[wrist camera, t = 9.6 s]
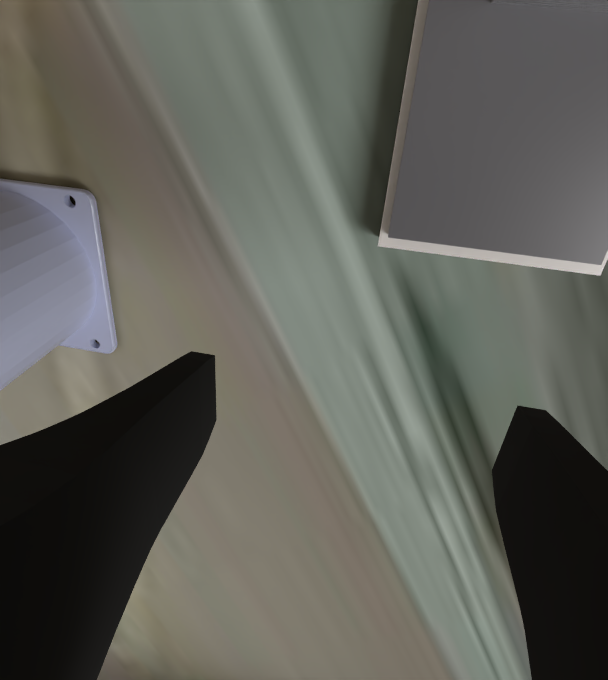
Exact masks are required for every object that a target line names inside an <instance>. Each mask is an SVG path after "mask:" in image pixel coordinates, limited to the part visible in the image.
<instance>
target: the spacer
mask: <svg viewBox="0 0 608 680" xmlns="http://www.w3.org/2000/svg"><path fill="white" fill-rule="evenodd" d="M491 3H498V4H510V5H523V6H535V7H548V8H560V9H573V10H585V11H598V12H608V0H491Z"/></svg>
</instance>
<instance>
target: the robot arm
mask: <svg viewBox="0 0 608 680" xmlns="http://www.w3.org/2000/svg"><path fill="white" fill-rule="evenodd" d="M70 196H72V197H73V198H74V199H75V202H76V205H73V204H72V202H71V201H70ZM95 340H97V341H98V342H99V344H98V343H96V342H95ZM58 345H59V346H65V347H71V348H77V349H83V350H89V351H95V352H100V353H112V352H113V351H114V350H115V349H116V348H117V338H116V331H115V324H114V317H113V311H112V304H111V297H110V290H109V284H108V277H107V270H106V263H105V257H104V250H103V243H102V236H101V229H100V223H99V216H98V209H97V202H96V199H95V197H94V196H93V194H92V193H91V192H89V191H88V190H85V189H79V188H71V187H63V186H56V185H48V184H40V183H32V182H24V181H16V180H9V179H1V178H0V390H2V389H3V388H4V387H6V386H7V385H8V384H9V383H11V382H12V381H13V380H14V379H16V378H17V377H18V376H20V375H21V374H22V373H23V372H25V371H26V370H27V369H29V368H30V367H31V366H32V365H34V364H35V363H36V362H37V361H39V360H40V359H41V358H43V357H44V356H45V355H46V354H48V353H49V352H50V351H52V350H53V349H54V348H55V347H57V346H58ZM215 422H216V384H215V355H210V354H204V353H198V352H192V351H191V352H189V353H187V354H186V355H184V356H182V357H180V358H179V359H177V360H175V361H173V362H172V363H170V364H168V365H167V366H165V367H163V368H162V369H160V370H158V371H157V372H155V373H153V374H152V375H150V376H148V377H147V378H145V379H143V380H141V381H140V382H138V383H136V384H135V385H133V386H131V387H129V388H128V389H126V390H124V391H122V392H120V393H118V394H116V395H115V396H113V397H111V398H109V399H107V400H105V401H103V402H101V403H99V404H97V405H96V406H94V407H92V408H90V409H88V410H86V411H84V412H82V413H80V414H78V415H75V416H73V417H71V418H69V419H67V420H64V421H62V422H60V423H57V424H55V425H53V426H50V427H48V428H46V429H43V430H41V431H38V432H36V433H33V434H31V435H28V436H25V437H22V438H19V439H17V440H14V441H11V442H8V443H5V444H2V445H0V680H97V678H98V675H99V672H100V670H101V667H102V665H103V662H104V660H105V657H106V655H107V652H108V649H109V647H110V644H111V642H112V639H113V637H114V634H115V632H116V629H117V627H118V624H119V622H120V620H121V617H122V615H123V612H124V610H125V608H126V605H127V603H128V600H129V598H130V595H131V593H132V591H133V588H134V586H135V584H136V581H137V579H138V577H139V575H140V572H141V570H142V568H143V565H144V563H145V561H146V559H147V556H148V554H149V552H150V550H151V547H152V546H153V544H154V542H155V540H156V538H157V536H158V534H159V532H160V530H161V528H162V526H163V525H164V523H165V521H166V519H167V518H168V516H169V514H170V512H171V510H172V509H173V507H174V505H175V503H176V502H177V500H178V498H179V496H180V494H181V493H182V491H183V489H184V487H185V486H186V484H187V482H188V480H189V478H190V477H191V475H192V473H193V471H194V469H195V468H196V466H197V464H198V462H199V460H200V459H201V457H202V455H203V453H204V450H205V448H206V445H207V443H208V440H209V438H210V435H211V433H212V430H213V427H214V425H215ZM492 476H493V487H494V497H495V505H496V512H497V517H498V521H499V525H500V529H501V533H502V537H503V542H504V546H505V550H506V554H507V558H508V562H509V566H510V570H511V574H512V578H513V581H514V585H515V589H516V593H517V597H518V601H519V605H520V610H521V615H522V619H523V624H524V629H525V635H526V642H527V649H528V656H529V662H530V669H531V676H532V680H608V471H607V470H606V469H605V468H604V467H603V466H602V465H601V464H600V463H599V462H598V461H597V460H596V459H595V458H594V457H593V456H592V455H591V454H590V453H589V452H588V451H587V450H586V449H585V448H584V447H583V446H582V445H581V444H580V443H579V442H578V441H577V440H576V439H575V438H574V437H573V436H572V435H571V434H570V433H569V432H568V431H567V430H566V429H565V428H564V427H563V426H562V425H561V424H560V423H559V422H558V421H557V420H556V419H555V418H554V417H552V416H551V415H550V414H549V413H548V412H547V411H546V410H541V409H535V408H529V407H523V406H517V408H516V411H515V413H514V416H513V418H512V421H511V423H510V426H509V429H508V431H507V434H506V436H505V439H504V441H503V444H502V446H501V449H500V451H499V454H498V456H497V459H496V461H495V464H494V467H493V469H492Z"/></svg>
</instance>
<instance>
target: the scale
mask: <svg viewBox="0 0 608 680" xmlns="http://www.w3.org/2000/svg"><path fill="white" fill-rule="evenodd" d="M378 246H381V247H388V248H396V249H403V250H411V251H418V252H426V253H433V254H441V255H449V256H456V257H464V258H471V259H479V260H486V261H494V262H501V263H509V264H517V265H524V266H532V267H539V268H547V269H554V270H562V271H569V272H577V273H584V274H592V275H601V273H602V271H603V268H604V266H605V264H606V261H607V259H608V12H598V11H585V10H573V9H560V8H548V7H535V6H523V5H510V4H498V3H491V0H418V4H417V10H416V16H415V22H414V28H413V35H412V41H411V47H410V53H409V59H408V65H407V71H406V77H405V83H404V89H403V95H402V101H401V107H400V114H399V120H398V126H397V132H396V138H395V144H394V150H393V156H392V162H391V168H390V174H389V180H388V186H387V193H386V199H385V205H384V211H383V217H382V223H381V229H380V235H379V242H378Z"/></svg>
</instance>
